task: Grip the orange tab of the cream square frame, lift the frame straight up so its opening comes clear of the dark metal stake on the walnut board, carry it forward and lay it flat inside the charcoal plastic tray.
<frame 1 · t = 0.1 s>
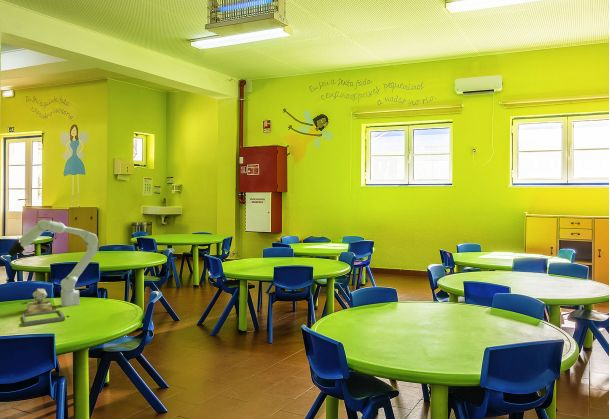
hand: (9, 254, 277), 32 cm above the table, tool tilted 50°, fingers open, 7 cm apart
stake board: (39, 312, 280), on the table
tray: (43, 319, 265), on the table
cream square frame: (39, 310, 281), point 1 cm above the table, touching stake board
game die: (40, 301, 309), on the table
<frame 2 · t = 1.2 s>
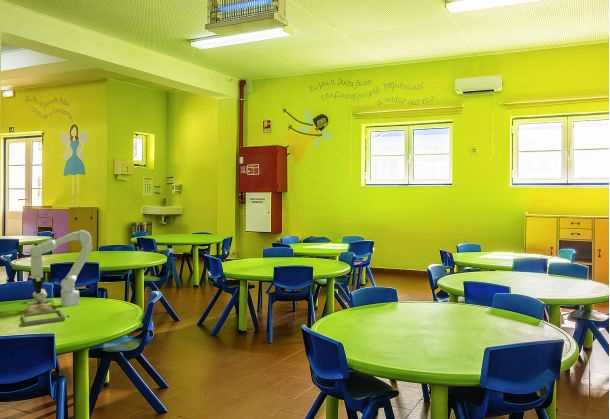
hand: (37, 292, 285), 10 cm above the table, tool pointing down, fingers open, 7 cm apart
nothing on the table moved.
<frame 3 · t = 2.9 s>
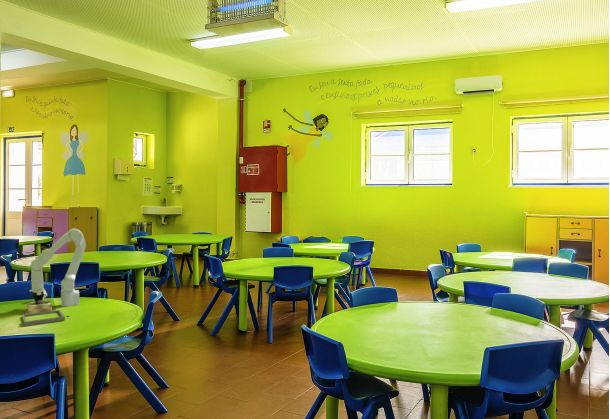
hand: (38, 305, 285), 2 cm above the table, tool pointing down, fingers closed on cream square frame, 3 cm apart
cream square frame: (39, 310, 281), point 1 cm above the table, touching gripper, stake board
everything else where it was.
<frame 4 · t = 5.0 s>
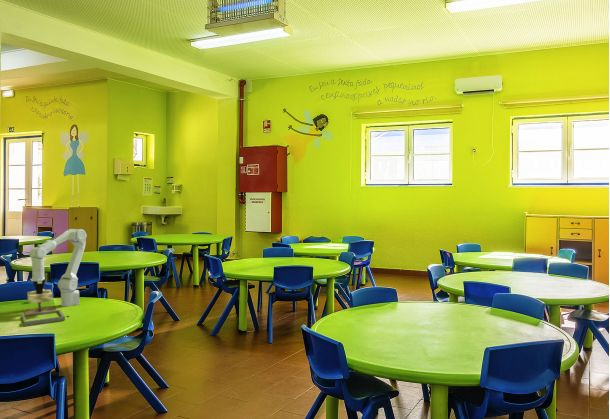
hand: (39, 295, 277), 10 cm above the table, tool pointing down, fingers closed on cream square frame, 3 cm apart
cream square frame: (40, 300, 273), point 8 cm above the table, touching gripper
everything else where it was.
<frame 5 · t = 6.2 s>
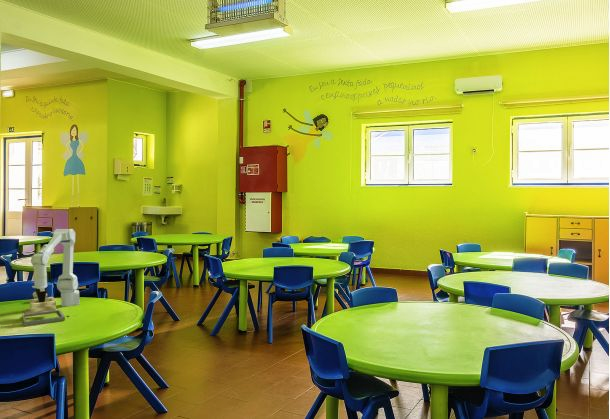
hand: (41, 303, 269), 8 cm above the table, tool pointing down, fingers closed on cream square frame, 3 cm apart
cream square frame: (42, 308, 264), point 6 cm above the table, touching gripper
everything else where it was.
when the fingers open (3 cm above the table, at t = 7.3 s): cream square frame stays where it is, resting on tray.
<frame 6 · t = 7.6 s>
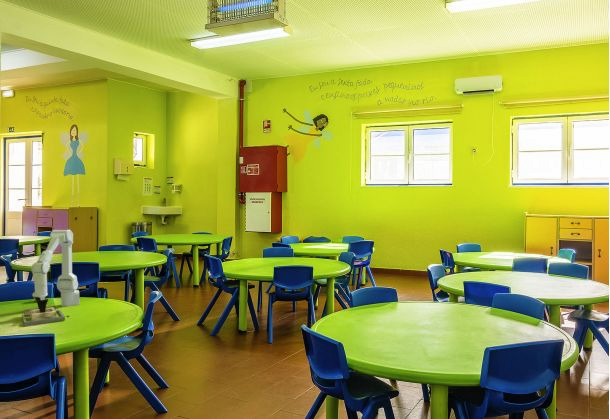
hand: (42, 311, 269), 3 cm above the table, tool pointing down, fingers open, 6 cm apart
cream square frame: (43, 318, 265), resting on tray
everything else where it was.
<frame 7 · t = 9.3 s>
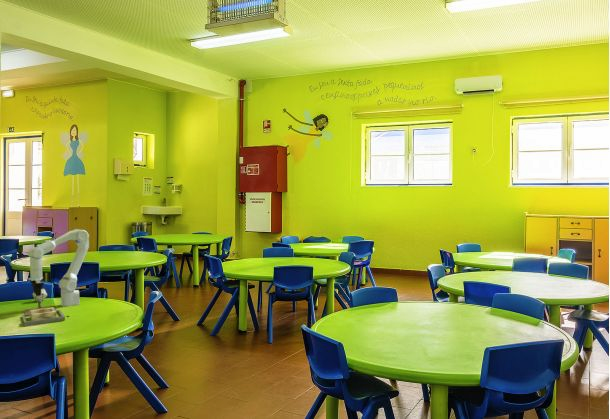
hand: (37, 294, 281), 10 cm above the table, tool pointing down, fingers open, 7 cm apart
nothing on the table moved.
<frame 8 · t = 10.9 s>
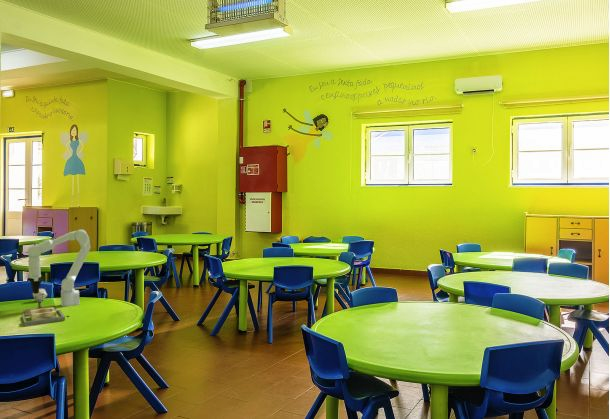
hand: (35, 292, 286), 10 cm above the table, tool pointing down, fingers open, 7 cm apart
nothing on the table moved.
at the end: cream square frame inside the target area on the tray (0.3 cm from its centre), point 0.5 cm above the tray's base; cream square frame tilted 0°; the gripper is holding nothing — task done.
